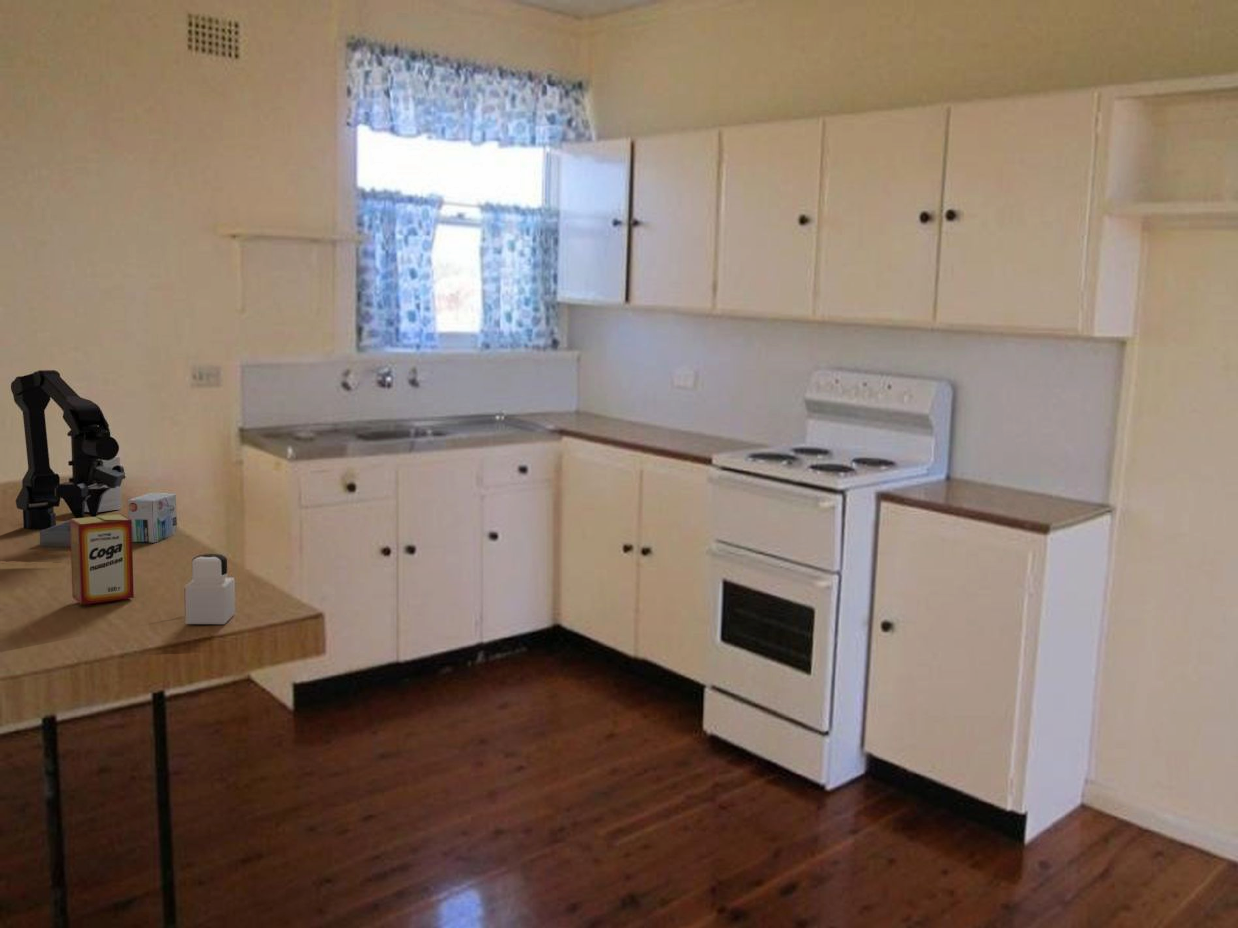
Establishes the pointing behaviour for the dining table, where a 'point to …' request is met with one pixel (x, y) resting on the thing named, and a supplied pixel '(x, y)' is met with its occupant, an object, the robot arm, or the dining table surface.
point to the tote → (56, 535)
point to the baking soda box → (101, 558)
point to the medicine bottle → (209, 591)
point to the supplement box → (110, 492)
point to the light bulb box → (153, 517)
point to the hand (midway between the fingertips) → (87, 520)
